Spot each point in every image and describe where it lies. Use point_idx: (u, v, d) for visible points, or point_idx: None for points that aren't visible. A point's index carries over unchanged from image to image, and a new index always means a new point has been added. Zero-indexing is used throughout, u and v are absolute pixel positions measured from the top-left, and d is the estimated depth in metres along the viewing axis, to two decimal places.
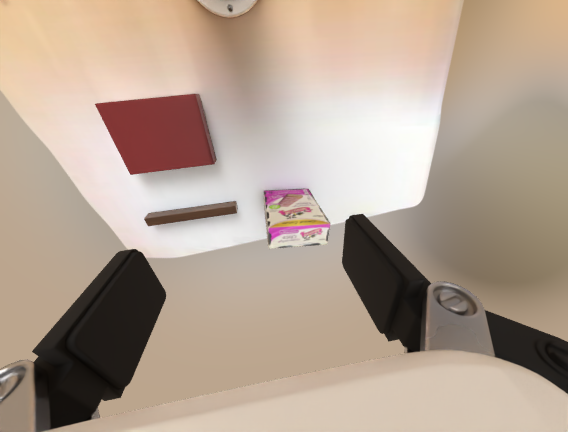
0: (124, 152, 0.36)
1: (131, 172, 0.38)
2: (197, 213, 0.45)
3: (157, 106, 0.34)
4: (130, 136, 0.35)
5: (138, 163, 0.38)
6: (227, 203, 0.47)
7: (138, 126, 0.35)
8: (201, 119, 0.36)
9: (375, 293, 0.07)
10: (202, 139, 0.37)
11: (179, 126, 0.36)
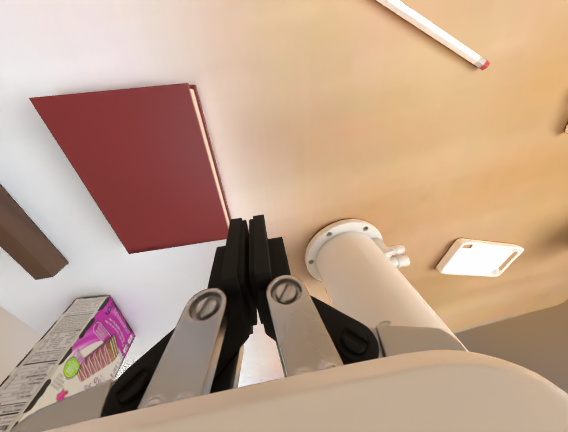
0: (91, 105, 0.16)
1: (37, 103, 0.16)
2: None
3: (204, 190, 0.21)
4: (135, 130, 0.17)
5: (73, 127, 0.17)
6: (53, 254, 0.25)
7: (162, 151, 0.19)
8: (198, 242, 0.24)
9: None
10: (167, 241, 0.24)
11: (180, 214, 0.22)
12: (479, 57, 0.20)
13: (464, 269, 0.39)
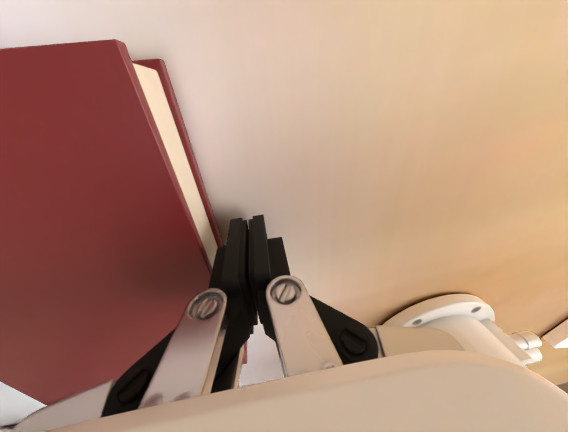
0: None
1: None
2: None
3: None
4: None
5: None
6: None
7: (74, 239, 0.07)
8: None
9: None
10: None
11: (142, 344, 0.10)
12: None
13: None
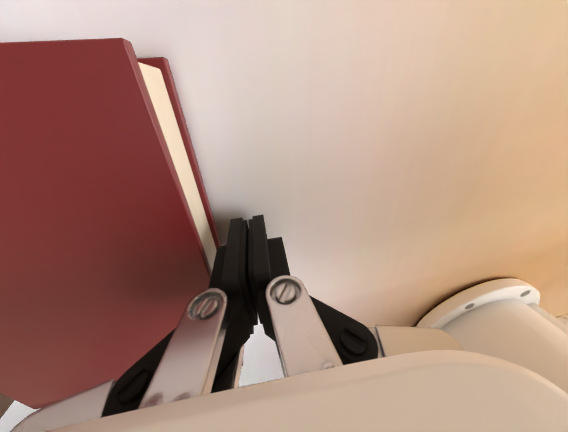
0: None
1: None
2: None
3: None
4: None
5: None
6: None
7: (70, 241, 0.07)
8: None
9: None
10: None
11: (137, 347, 0.10)
12: None
13: None
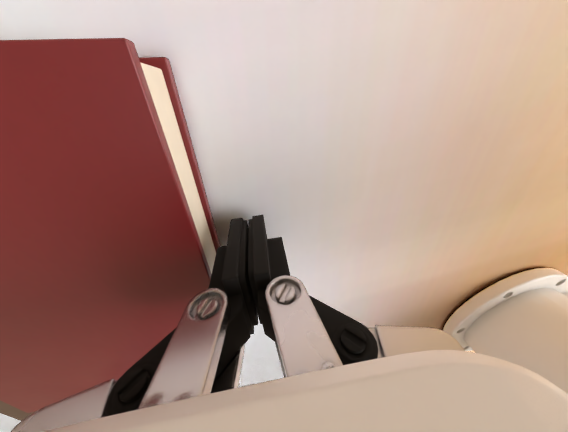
0: None
1: None
2: None
3: None
4: None
5: None
6: None
7: (67, 242, 0.07)
8: None
9: None
10: None
11: (134, 349, 0.10)
12: None
13: None
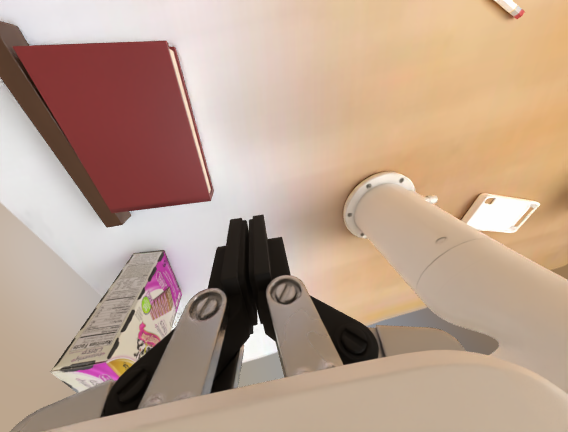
0: (73, 57, 0.17)
1: (20, 51, 0.17)
2: (75, 161, 0.22)
3: (184, 149, 0.22)
4: (117, 85, 0.19)
5: (56, 79, 0.18)
6: None
7: (143, 108, 0.20)
8: (179, 203, 0.26)
9: None
10: (149, 202, 0.25)
11: (161, 174, 0.23)
12: (515, 5, 0.23)
13: (483, 226, 0.42)
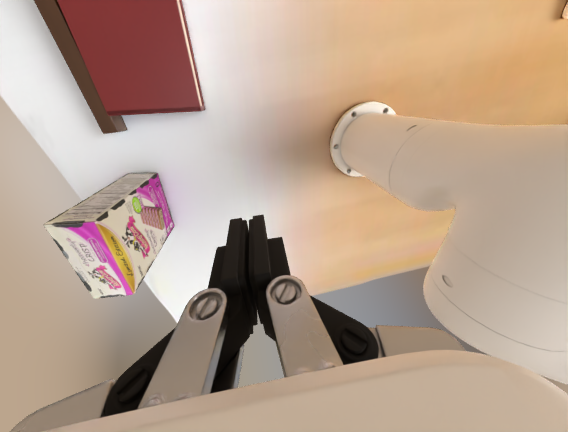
0: None
1: None
2: (76, 55, 0.24)
3: (176, 49, 0.24)
4: None
5: None
6: (117, 115, 0.28)
7: (138, 0, 0.22)
8: (171, 111, 0.27)
9: None
10: (143, 106, 0.27)
11: (154, 75, 0.25)
12: None
13: None
